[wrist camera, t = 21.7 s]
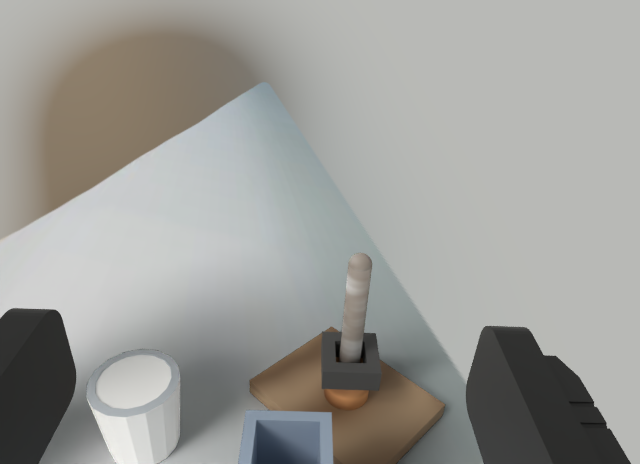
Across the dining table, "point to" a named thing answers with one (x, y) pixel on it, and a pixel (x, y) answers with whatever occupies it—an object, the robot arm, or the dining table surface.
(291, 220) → the dining table surface
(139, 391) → the white cup
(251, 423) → the sleeve
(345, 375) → the ring
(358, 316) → the post stand
